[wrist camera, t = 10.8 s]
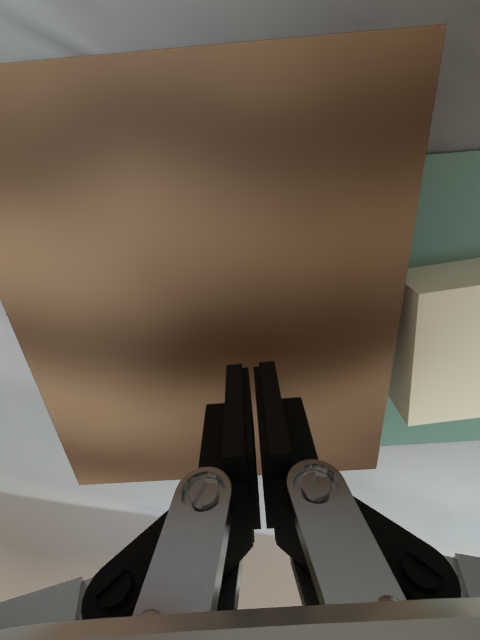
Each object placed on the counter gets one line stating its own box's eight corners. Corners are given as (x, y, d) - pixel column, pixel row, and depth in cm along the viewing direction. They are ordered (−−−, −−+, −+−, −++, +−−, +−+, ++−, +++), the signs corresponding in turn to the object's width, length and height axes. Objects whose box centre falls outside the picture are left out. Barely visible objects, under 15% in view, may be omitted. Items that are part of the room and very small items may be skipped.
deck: (-27, 89, 11) (-97, 71, 9) (401, 52, 10) (446, 23, 8) (99, 443, 18) (79, 484, 16) (358, 428, 18) (376, 468, 15)
